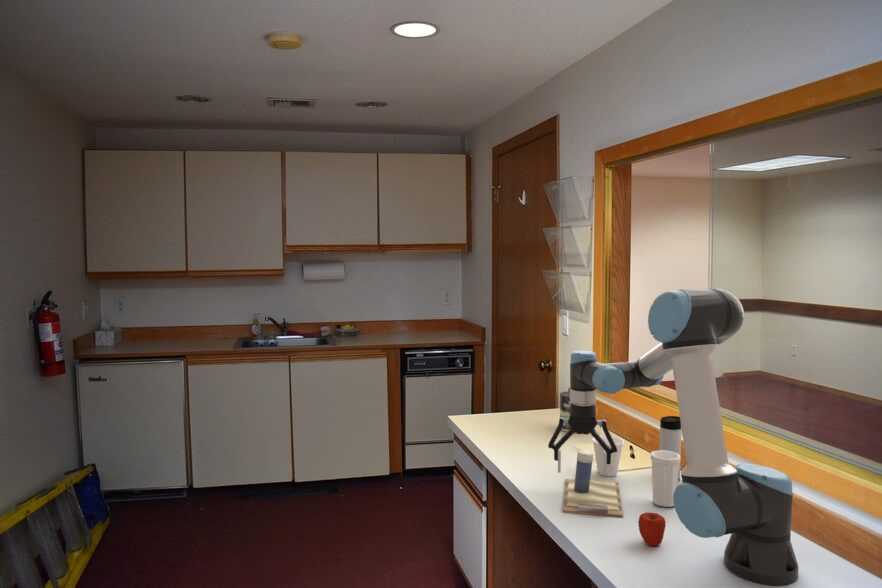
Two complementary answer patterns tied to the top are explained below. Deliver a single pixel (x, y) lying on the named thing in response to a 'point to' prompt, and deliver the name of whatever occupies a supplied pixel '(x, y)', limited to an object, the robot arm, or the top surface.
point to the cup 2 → (664, 476)
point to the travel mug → (671, 436)
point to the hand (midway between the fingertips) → (582, 472)
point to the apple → (652, 528)
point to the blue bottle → (583, 471)
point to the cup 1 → (615, 457)
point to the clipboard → (593, 499)
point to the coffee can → (565, 408)
